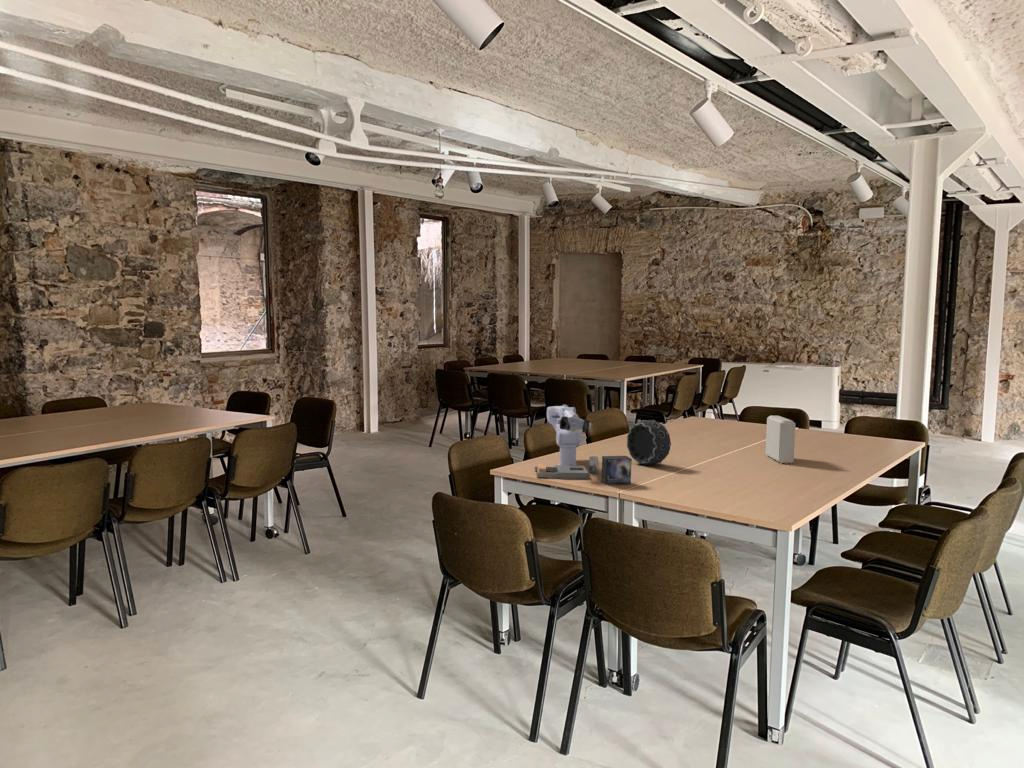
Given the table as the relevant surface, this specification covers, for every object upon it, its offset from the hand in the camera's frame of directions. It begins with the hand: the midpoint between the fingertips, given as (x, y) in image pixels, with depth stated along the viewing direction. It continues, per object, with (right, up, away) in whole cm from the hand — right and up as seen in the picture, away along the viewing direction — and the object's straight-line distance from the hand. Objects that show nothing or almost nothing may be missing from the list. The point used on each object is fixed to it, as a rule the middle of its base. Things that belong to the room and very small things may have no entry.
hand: (577, 429), depth 307 cm
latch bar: (-15, -19, +4) cm, 24 cm away
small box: (+14, -21, -10) cm, 27 cm away
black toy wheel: (+34, -18, +30) cm, 49 cm away
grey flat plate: (-7, -19, +4) cm, 21 cm away
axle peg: (+7, -19, +8) cm, 22 cm away
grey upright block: (+100, -18, +47) cm, 112 cm away
